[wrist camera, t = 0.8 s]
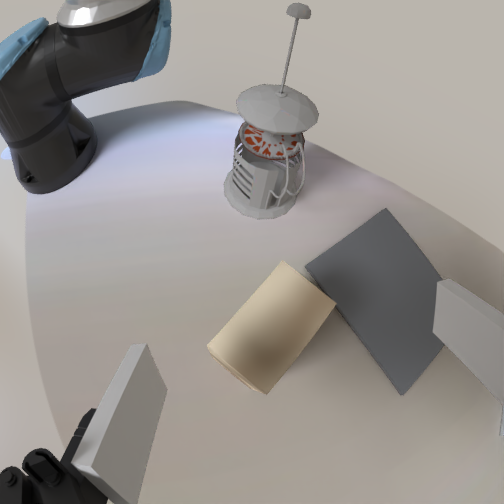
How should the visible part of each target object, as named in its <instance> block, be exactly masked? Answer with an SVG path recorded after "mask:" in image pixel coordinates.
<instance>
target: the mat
mask: <svg viewBox="0 0 504 504" xmlns="http://www.w3.org/2000/svg"><path fill="white" fill-rule="evenodd" d="M305 268H306V269H307V270H308V272H309V273H310V274H311V276H312V277H313V278H314V279H315V281H316V282H317V283H318V285H319V286H320V287H321V288H322V290H323V291H324V292H325V294H326V295H327V296H328V297H329V298H331V299H332V300H333V301H334V302H336V303H337V304H336V305H335V307H336V308H337V309H338V311H339V312H340V313H341V315H342V316H343V317H344V319H345V320H346V321H347V322H348V324H349V325H350V326H351V328H352V329H353V330H354V332H355V333H356V334H357V336H358V337H359V339H360V340H361V341H362V343H363V344H364V345H365V347H366V348H367V349H368V351H369V352H370V353H371V355H372V356H373V357H374V359H375V360H376V362H377V363H378V364H379V366H380V367H381V368H382V370H383V371H384V373H385V374H386V375H387V377H388V378H389V380H390V381H391V382H392V384H393V385H394V387H395V388H396V389H397V391H398V392H399V394H400V395H404V393H405V392H406V391H407V390H408V389H409V388H410V387H411V386H412V384H413V383H414V382H415V381H416V380H417V379H418V377H419V376H420V375H421V374H422V373H423V372H424V370H425V369H426V368H427V367H428V365H429V364H430V363H431V362H432V360H433V359H434V358H435V356H436V355H437V354H438V353H439V351H440V350H441V349H442V347H443V346H444V343H443V342H442V341H441V340H440V339H439V338H438V337H437V336H436V335H435V334H434V333H433V325H434V316H435V305H436V293H437V282H439V281H442V278H441V277H440V276H439V274H438V273H437V271H436V270H435V269H434V267H433V266H432V264H431V263H430V262H429V260H428V259H427V258H426V256H425V255H424V254H423V253H422V251H421V250H420V249H419V247H418V246H417V245H416V243H415V242H414V241H413V240H412V238H411V237H410V236H409V235H408V233H407V232H406V231H405V230H404V229H403V227H402V226H401V225H400V224H399V222H398V221H397V220H396V219H395V218H394V217H393V215H392V214H391V213H390V212H389V211H388V210H387V208H385V209H383V210H382V211H381V212H379V213H378V214H377V215H375V216H374V217H373V218H371V219H370V220H369V221H367V222H366V223H364V224H363V225H362V226H360V227H359V228H358V229H356V230H355V231H354V232H352V233H351V234H349V235H348V236H347V237H345V238H344V239H342V240H341V241H340V242H338V243H337V244H335V245H334V246H333V247H331V248H330V249H328V250H327V251H326V252H324V253H323V254H321V255H320V256H318V257H317V258H316V259H314V260H313V261H311V262H310V263H308V264H307V265H306V266H305Z"/></svg>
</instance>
